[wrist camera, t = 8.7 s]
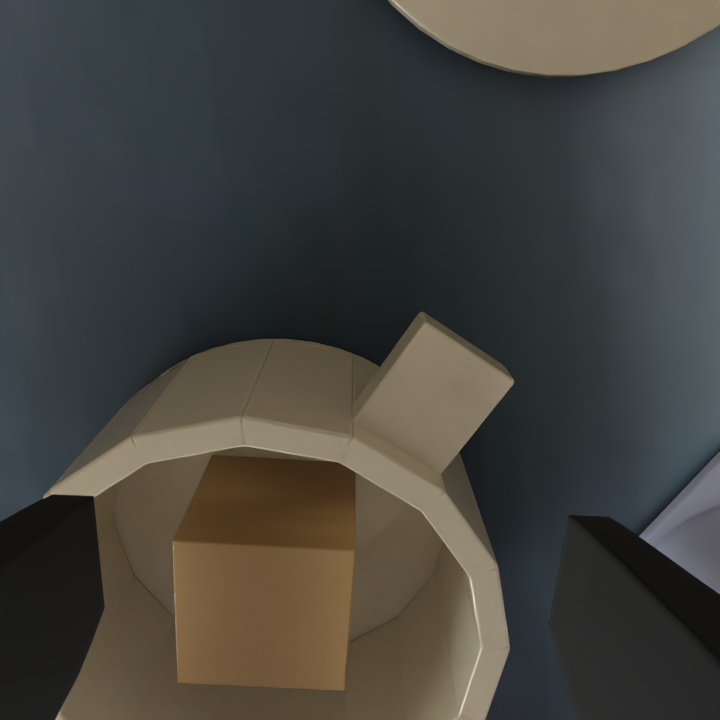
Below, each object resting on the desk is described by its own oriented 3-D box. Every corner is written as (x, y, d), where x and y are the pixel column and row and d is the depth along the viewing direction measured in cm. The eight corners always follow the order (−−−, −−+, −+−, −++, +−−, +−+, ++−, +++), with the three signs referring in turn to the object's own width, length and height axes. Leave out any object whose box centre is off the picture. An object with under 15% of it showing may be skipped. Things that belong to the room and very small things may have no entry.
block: (355, 462, 19) (355, 550, 15) (346, 580, 21) (345, 691, 16) (211, 454, 19) (171, 540, 15) (212, 574, 21) (176, 684, 16)
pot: (597, 401, 19) (694, 505, 14) (297, 751, 24) (279, 935, 18) (263, 176, 17) (219, 193, 11) (4, 611, 21) (-117, 772, 16)
